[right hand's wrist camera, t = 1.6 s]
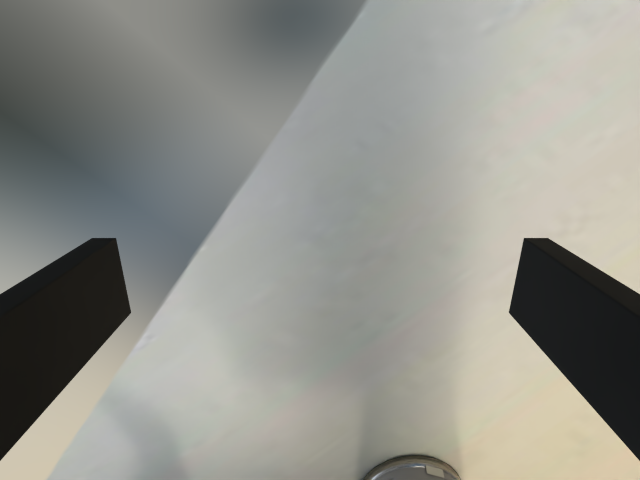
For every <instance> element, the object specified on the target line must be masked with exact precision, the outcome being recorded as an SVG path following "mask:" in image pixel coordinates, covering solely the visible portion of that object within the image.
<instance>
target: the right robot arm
mask: <svg viewBox="0 0 640 480" xmlns="http://www.w3.org/2000/svg"><path fill="white" fill-rule="evenodd" d="M130 313H131V310H130V305H129V300H128V295H127V290H126V285H125V281H124V276H123V271H122V266H121V261H120V256H119V251H118V246H117V241H116V238H92V239H90V240H88V241H87V242H85V243H83V244H82V245H80V246H78V247H77V248H75V249H74V250H72V251H70V252H69V253H67V254H65V255H64V256H62V257H61V258H59V259H57V260H56V261H54V262H52V263H51V264H49V265H47V266H46V267H44V268H43V269H41V270H39V271H38V272H36V273H34V274H33V275H31V276H30V277H28V278H26V279H25V280H23V281H21V282H20V283H18V284H16V285H15V286H13V287H11V288H10V289H8V290H7V291H5V292H3V293H2V294H0V460H1V459H2V458H3V457H4V456H5V455H6V454H7V452H8V451H9V450H10V449H11V448H12V447H13V446H14V445H15V443H16V442H17V441H18V440H19V439H20V438H21V437H22V435H23V434H24V433H25V432H26V431H27V430H28V429H29V428H30V426H31V425H32V424H33V423H34V422H35V421H36V420H37V419H38V417H39V416H40V415H41V414H42V413H43V412H44V411H45V409H46V408H47V407H48V406H49V405H50V404H51V403H52V401H53V400H54V399H55V398H56V397H57V396H58V395H59V394H60V392H61V391H62V390H63V389H64V388H65V387H66V386H67V385H68V383H69V382H70V381H71V380H72V379H73V378H74V377H75V376H76V374H77V373H78V372H79V371H80V370H81V369H82V368H83V366H84V365H85V364H86V363H87V362H88V361H89V360H90V358H91V357H92V356H93V355H94V354H95V353H96V352H97V351H98V349H99V348H100V347H101V346H102V345H103V344H104V343H105V342H106V340H107V339H108V338H109V337H110V336H111V335H112V334H113V332H114V331H115V330H116V329H117V328H118V327H119V326H120V325H121V323H122V322H123V321H124V320H125V319H126V318H127V317H128V316H129V314H130ZM509 313H510V314H511V316H512V317H513V318H514V319H515V320H516V321H517V322H518V323H519V325H520V326H521V327H522V328H523V329H524V330H525V331H526V332H527V334H528V335H529V336H530V337H531V338H532V339H533V340H534V342H535V343H536V344H537V345H538V346H539V347H540V348H541V349H542V351H543V352H544V353H545V354H546V355H547V356H548V357H549V359H550V360H551V361H552V362H553V363H554V364H555V365H556V366H557V368H558V369H559V370H560V371H561V372H562V373H563V374H564V376H565V377H566V378H567V379H568V380H569V381H570V382H571V383H572V385H573V386H574V387H575V388H576V389H577V390H578V391H579V392H580V394H581V395H582V396H583V397H584V398H585V399H586V400H587V402H588V403H589V404H590V405H591V406H592V407H593V408H594V409H595V411H596V412H597V413H598V414H599V415H600V416H601V417H602V419H603V420H604V421H605V422H606V423H607V424H608V425H609V426H610V428H611V429H612V430H613V431H614V432H615V433H616V434H617V435H618V437H619V438H620V439H621V440H622V441H623V442H624V443H625V445H626V446H627V447H628V448H629V449H630V450H631V451H632V452H633V454H634V455H635V456H636V457H637V458H638V459H639V460H640V294H638V293H637V292H635V291H633V290H632V289H630V288H629V287H627V286H625V285H624V284H622V283H620V282H619V281H617V280H615V279H614V278H612V277H611V276H609V275H607V274H606V273H604V272H602V271H601V270H599V269H597V268H596V267H594V266H593V265H591V264H589V263H588V262H586V261H584V260H583V259H581V258H579V257H578V256H576V255H575V254H573V253H571V252H570V251H568V250H566V249H565V248H563V247H562V246H560V245H558V244H557V243H555V242H553V241H552V240H550V239H548V238H524V241H523V246H522V251H521V256H520V261H519V266H518V271H517V275H516V280H515V285H514V290H513V295H512V300H511V305H510V310H509ZM363 480H460V478H459V476H458V474H457V473H456V472H455V470H454V469H452V468H451V467H450V466H449V465H447V464H446V463H444V462H442V461H440V460H437V459H434V458H430V457H425V456H404V457H399V458H395V459H392V460H389V461H386V462H384V463H382V464H380V465H378V466H377V467H375V468H374V469H373V470H371V471H370V472H369V473H368V474H367V475H366V477H365V478H364V479H363Z"/></svg>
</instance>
